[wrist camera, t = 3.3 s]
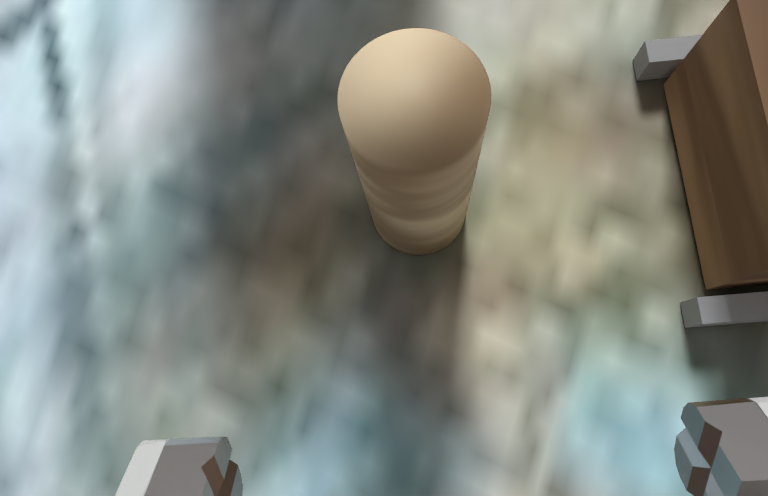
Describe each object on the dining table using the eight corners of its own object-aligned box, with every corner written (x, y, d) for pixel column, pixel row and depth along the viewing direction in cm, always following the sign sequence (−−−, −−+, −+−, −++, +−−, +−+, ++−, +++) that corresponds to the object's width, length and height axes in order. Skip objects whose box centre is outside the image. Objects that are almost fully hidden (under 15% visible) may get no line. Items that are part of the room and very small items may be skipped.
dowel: (354, 226, 25) (308, 124, 15) (401, 150, 25) (386, 5, 16) (436, 272, 24) (443, 195, 14) (482, 192, 25) (518, 67, 15)
